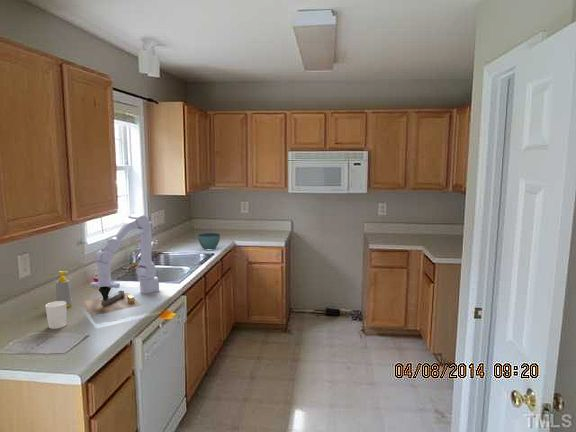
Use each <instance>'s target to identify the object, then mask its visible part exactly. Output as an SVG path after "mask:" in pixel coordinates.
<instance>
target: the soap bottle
mask: <svg viewBox="0 0 576 432" xmlns="http://www.w3.org/2000/svg"><path fill="white" fill-rule="evenodd" d="M58 273H60V276H59V278H58V279H57V281H56V282H55V294H56V295H55V297H56V299H55V300H56V301H65V302H66V309H67V308H69V307H71V306H72V304H73V300H72V299H73V297H72V291H71V284H70V283H71V282H70V280H69V279H67V278H66V276H64V274H68V273H69V271H63V270H62V271H61V270H59V271H58Z"/></svg>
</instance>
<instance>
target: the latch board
mask: <svg viewBox="0 0 576 432" xmlns="http://www.w3.org/2000/svg"><path fill="white" fill-rule="evenodd" d="M124 295H125V296H124V297H122V298H120V299H118V300H116V301H114V302H112V303H110V304H108V305H106V306H101V300H103V297H98V298H93V299H88V300H82V302H83V303H84V306H86V308H87V309H88V312H89V313H90V314H91V315H92V316H96V315H102V314H105V313H110V312H116V311H120V310H126V309H130V308H131V309H132V308H134V307H135V308H136V307H140V306H142V304H141V303H140V302H139V301H137V299H135V303H129V302H128V299H127V296H130V295H131V294H130V293H129V292H126V293H125V292H124ZM109 296H110V295H108V297H109Z"/></svg>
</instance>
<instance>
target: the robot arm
mask: <svg viewBox="0 0 576 432" xmlns="http://www.w3.org/2000/svg"><path fill="white" fill-rule="evenodd" d="M132 230H138V231H139V232H140V260H139V262H138V264H137V268H136V274H137V275H136V276H138V278H139V291H140V294H142V295H143V294H144V295H147V294H151V293H156V292H160V282H159V278H158V277H157V276H156V274H157V269H156V267H155V265H156V264H155V263H154V262H153V260H152V240H153V239H152V237H153V236H152V226H151V223H150V218H148V216H146V215H143V214H142V215H140V214H133V213H132V214H130V215H129V216H128V217H127V218H126V219H125V221H124V224H123V225H122V226H121V228H120V229H119V230H118V232H117V233H116V235H115V236H114V237H111V238H108V239H107V241H106V243H105V244H104V246H103V247H101V248H100V250H97V251H96V253H95V255H94V256H93V259H94V260H95V262H96V265H97V266H96V267H97V280H98V281H94V282H93V281H92V282H90V283H89V285H90V286H89V288H93V287H94V288H95V287H96V288H99V289H98V291H99V293H100V294H101V296H102V298H103V299H105V298H107V297H108V296H109V294H110V291H111V289H112V288H115V289H119V288H120V283H117V282H112V274H111V261H112V259H113V256H114V254H115V252H116V251H117V250H118V249H119V247H120V246H121V241H122V240H123V239H124V238H125V237H127V235H128V234H129V232H131V231H132Z"/></svg>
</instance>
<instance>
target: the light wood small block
mask: <svg viewBox="0 0 576 432" xmlns="http://www.w3.org/2000/svg"><path fill="white" fill-rule="evenodd" d="M127 299H128V302H129V303H135V300H136V298H135V296H134V295H132V294H130V296H127Z"/></svg>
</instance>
